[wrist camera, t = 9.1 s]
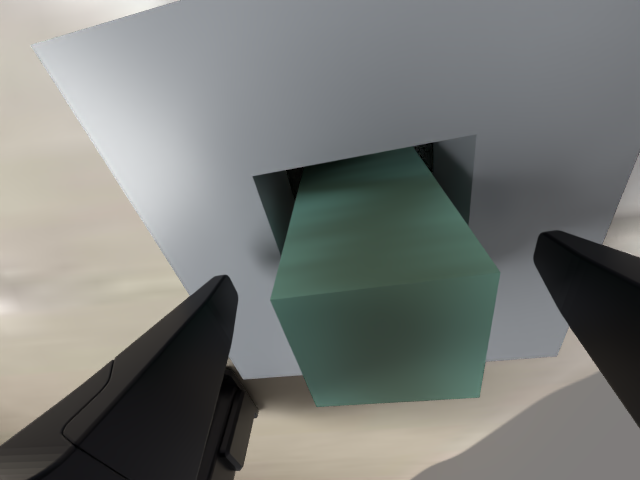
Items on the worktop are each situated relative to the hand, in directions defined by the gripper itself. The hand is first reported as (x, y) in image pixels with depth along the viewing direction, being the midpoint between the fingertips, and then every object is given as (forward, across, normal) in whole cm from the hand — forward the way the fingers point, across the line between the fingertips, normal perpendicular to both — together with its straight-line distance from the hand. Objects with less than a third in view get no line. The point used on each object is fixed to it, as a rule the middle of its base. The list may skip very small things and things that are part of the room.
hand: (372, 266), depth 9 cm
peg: (+5, 0, 0) cm, 5 cm away
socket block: (+5, 0, 0) cm, 5 cm away
